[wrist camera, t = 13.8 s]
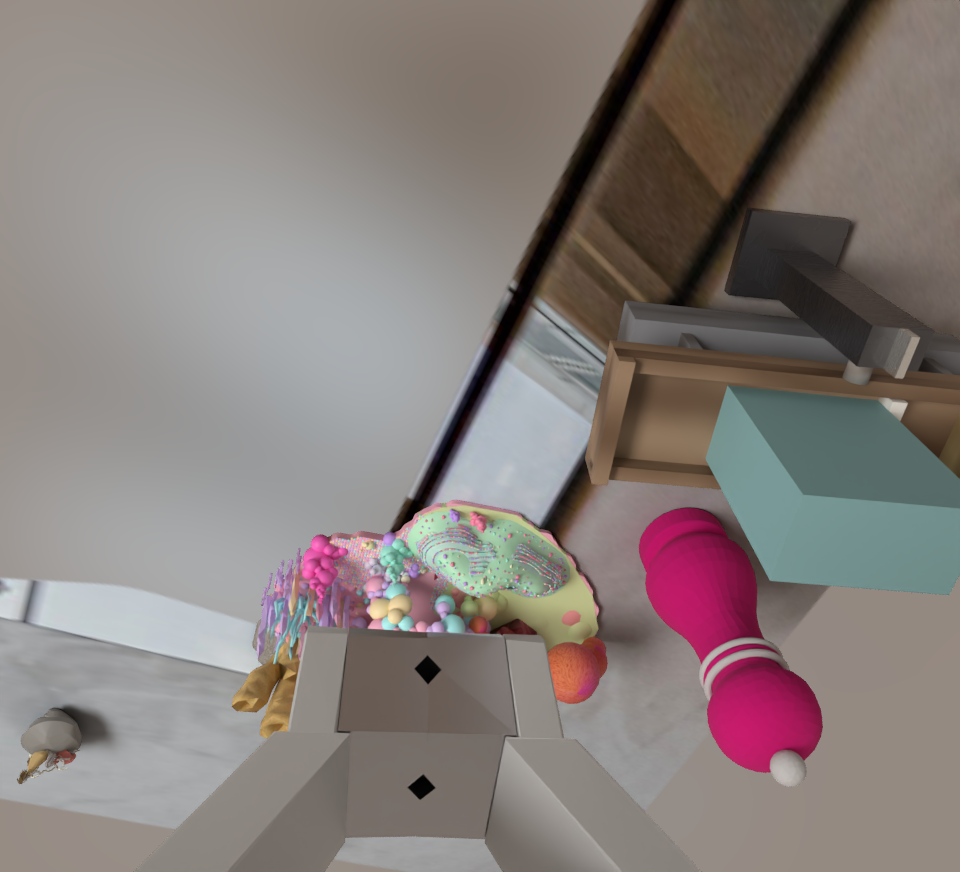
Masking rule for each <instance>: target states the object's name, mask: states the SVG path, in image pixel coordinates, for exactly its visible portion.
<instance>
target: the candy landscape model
mask: <svg viewBox="0 0 960 872" xmlns="http://www.w3.org/2000/svg"><path fill="white" fill-rule="evenodd" d="M299 555H300V548H299V549H298V553H297V560H296V566H295V568H294V571H293V575H292V564H293V560H292V559H291V560H289V564H288V569H287V572H286V574H285V579H283V578H284V575H282V570H283V565H284V560H282V561H281V566H280V569H278V570H277V574H276V580H275V581H274V588H276V589H275V591H274V593H273V594H271V595H267V596H266V590H267V592H268V590H269V589H270V584H271V578H272V573H271V574H270V577H269V583H268V588H264V593H263V597H262V604H261V605H262V606H263V605H264V606H263V610H262V618H261V620H260V621H259V622H258V623H257V627H256V631H255V635H254V639H253V648H254V649H255V650H256V651H257V655H258V661H259V662H260V663H261V664H262V666H260V667H258V668H256V669H254V670H253V671H252V672H251V673H250V674H249V676H248V678H247V680H246V682H245V684H244V685H243V686H242V687H241V688H240V690H239V691H238V692H237V693H236V694H235V695H234V697H233V702H232V707H233V708H234V709H235V710H236V711H243V712H257V711H259V710H260V709H261V708H262V707H263V706H264V705H265V704H267V703H268V700H269V697H270V694H271V692H272V690H273V688H274V686H275V685H276V683H277V682H278V684H277V686H276V688H275V691H274V693H273V695H272V698H271V700H270V702H269V705H268V707H267V710H266V715H265V717H264V718H263V720H262V721H261V730H260V735H261V736H263V737H265V738H268V737H269V736H270V735H271V734H272V733H273V732H274V731H287V729H288V724H289V718H290V713H291V707H292V702H293V697H294V691H295V686H296V680H297V675H298V669H299V664H300V658H301V653H302V647H303V642H304V636H305V633H306V631H307V629H308V626H309V625H310V626H323V627H337V628H349V629H350V627H352V628H367V629H383V630H398V631H414V632H444V633H476V634H501V635H503V634H518V635H541V636H542V638H543V639H544V640H545V644H546V649H547V654H548V659H549V664H550V669H551V674H552V679H553V684H554V690H555V695H556V699H557V700H559V701H562V702H565V703H568V704H574V703H580V702H582V701H585V700H586V699H588V698H589V697H590V696H591V695H592V694H593V692H594V691H595V689H596V688H597V686H598V684H599V679H600V678H601V677H602V676H603V674H604V673H605V671H606V669H607V657H606V647H605V644H604V643H603V641H601V640H600V639H598V638H596V637H595V635H596V633H597V631H598V629H599V628H598V624H597V620H596V618H597V615H598V613H599V608H598V605H597V603H596V602H595V601H594V599H593V590H592V587H591V586H590V585H589V583H588V580H587V579H586V578H585V576H584V574H583V573H581V572H578V570H577V569H576V564H575V561H574V560H573V558H572V556H571V554H570V553H568V552H565V551H564V550H563V549H562V548H561V547H560V546H559V544H558V543H557V541H556V539H555V538H554V537H553V536H552V534H551V532H550V531H548V530H543V529H538V528H537V527H536V526H534V525H533V523H532V522H531V521H528V520H526V519H525V518H523V517H522V516H521V514H520V513H518V512H514V511H510V510H506V509H501V508H496V507H491V506H485V505H480V504H475V503H470V502H465V501H460V500H451V501H449V502H448V503H435V504H433V505H432V506H430V507H427V508H425V509H423V510H422V511H420V512H418V513H416V514H415V515H414V518H413V519H412V521H410V522H408V523H406V524H405V525H404V526H403V527H402V529H401V530H399V531H397V532H395V533H392V532H388V533H386V534H385V535H382V534H377V533H371V532H365V531H359V532H357V533H355V534H351V535H349V534H343V533H335V534H333V535H331V536H330V537H326V536H324V535H317V536H315V537H314V538H313V539H312V541H311V548H309V549H308V550H307V551H306V552H305V555H304V557H303V561H302V562H301V556H299ZM291 576H292V577H291ZM276 584H278V585H277V587H276ZM272 595H273V597H272ZM265 596H266V598H265ZM278 680H279V681H278Z"/></svg>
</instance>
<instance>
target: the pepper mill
mask: <svg viewBox="0 0 960 872" xmlns="http://www.w3.org/2000/svg"><path fill="white" fill-rule="evenodd" d="M639 553H640V557H641V560H642V563H643V565H644V568H645V570H646V572H647V574H646V582H645V584H646V591H647V594H648V598H649V600H650V602H651V604H652V606H653V608H654V610H655V611H656V613H657V614H658V615H659V616H660V618H661V619H662V620H663V621H664V622H665V623H666V624H667V625H668V626H669V627H670V628H672V629H673V630H675V631H676V632H677V633H679V634H680V635H682V636H683V637H684V638H685V639H686V640H687V641H688V642H689V643H690V644H691V646H692V647H693V648H694V650H695V652H696V653H697V655H698V657H699V659H700V662H701V667H700V672H699V679H700V683H701V685H702V687H703V688H704V691H705V695H706V697H707V699H708V700H709V705H708V709H707V715H708V724H709V727H710V730H711V733H712V735H713V737H714V739H715V740H716V743H717V744H718V746H719V748H720V749H721V750H722V752H723V753H724V754H725V755H726V756H727V757H728V758H730V759H731V760H732V761H733V762H735V763H737V764H738V765H740V766H742V767H744V768H747V769H749V770H753V771H756V772H763V773H764V772H765V773H766V772H771V773H772V775H773V777H774V778H775V780H777V781H778V782H779V783H780V784H782V785H785V786H789V787H792V786H797V785H799V784H800V783H801V782H802V781H803V780H804V778H805V776H806V765H805V762H804V760H805V759H806V758H807V757H808V756H809V755H810V754H811V753H812V752H813V751H814V750H815V748H816V746H817V744H818V742H819V740H820V737H821V732H822V728H823V726H822V715H821V709H820V707H819V704H818V701H817V699H816V697H815V694H814V693H813V691H812V690H811V688H810V687H809V685H808V684H807V683H806V681H804V680H803V679H802V678H801V677H799V676H798V675H796V674H795V673H794V672H792V671H790V670H789V666H788V664H787V662H786V661H785V660H784V659H783V656H782V653H781V652H780V650H779V649H778V648H777V647H776V646H775V645H774V644H773V643H771V642H770V641H767V640H765V639H764V638H763V636H762V633H761V631H760V628H759V625H758V620H757V614H756V607H757V584H756V578H755V573H754V570H753V568H752V566H751V563H750V561H749V559H748V556H747V555H746V553H745V552H744V550H743V549H742V548H741V547H740V546H739V545H738V544H736V543H735V542H734V541H732V540H730V539H729V538H728V536H727V534H726V533H725V531H724V529H723V527H722V525H721V524H720V522H719V521H718V520H717V518H716V517H714V516H713V515H712V514H710V513H708V512H706V511H704V510H700V509H696V508H681V509H675V510H672V511H670V512H667V513H665V514H663V515H661V516H660V517H658V518H657V519H655V520H654V521H653V522H652V523H651V524H650V525H649V526H648V527H647V528H646V530H645V531H644V533H643V535H642V537H641V539H640V544H639Z"/></svg>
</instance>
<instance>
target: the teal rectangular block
mask: <svg viewBox="0 0 960 872" xmlns="http://www.w3.org/2000/svg"><path fill="white" fill-rule="evenodd" d="M706 461H707V463H708V465H709V467H710V469H711V471H712V472H713V474H714V476H715V478H716V480H717V482H718V484H719V486H720V487H721V489H722V491H723V493H724V495H725V497H726V499H727V501H728V503H729V504H730V506H731V508H732V510H733V512H734V514H735V516H736V518H737V520H738V521H739V523H740V525H741V527H742V529H743V531H744V533H745V535H746V536H747V538H748V540H749V542H750V544H751V546H752V548H753V550H754V552H755V553H756V555H757V557H758V559H759V561H760V563H761V565H762V567H763V568H764V570H765V572H766V574H767V576H768V578H769V580H770V581H778V582H791V583H803V584H816V585H828V586H841V587H853V588H866V589H878V590H891V591H904V592H917V593H929V594H941V595H949V594H950V592H951V590H952V588H953V587H954V584H955V583H956V581H957V579H958V577H959V575H960V479H959V478H958V477H957V476H956V475H955V474H954V473H953V472H952V471H951V470H950V469H949V468H948V467H947V466H946V465H945V464H944V463H943V462H942V461H940V460H939V459H938V458H937V457H936V456H935V455H934V454H933V453H932V452H931V451H930V450H929V449H928V448H927V447H926V446H925V445H924V444H923V443H922V442H921V441H920V440H919V439H918V438H917V437H916V436H915V435H913V434H912V433H911V432H910V431H909V430H908V429H907V428H906V427H905V426H904V425H903V424H902V423H901V422H900V421H899V420H898V419H897V418H896V417H895V416H894V415H893V414H892V413H891V412H890V411H889V410H888V409H886V408H885V407H884V406H883V405H882V404H881V403H880V402H879V401H878V400H871V399H861V398H851V397H841V396H831V395H821V394H811V393H801V392H791V391H781V390H770V389H760V388H750V387H740V386H730V385H728V386H727V389H726V392H725V396H724V399H723V402H722V406H721V409H720V412H719V416H718V419H717V422H716V426H715V429H714V432H713V435H712V439H711V442H710V445H709V449H708V452H707V455H706Z"/></svg>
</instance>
